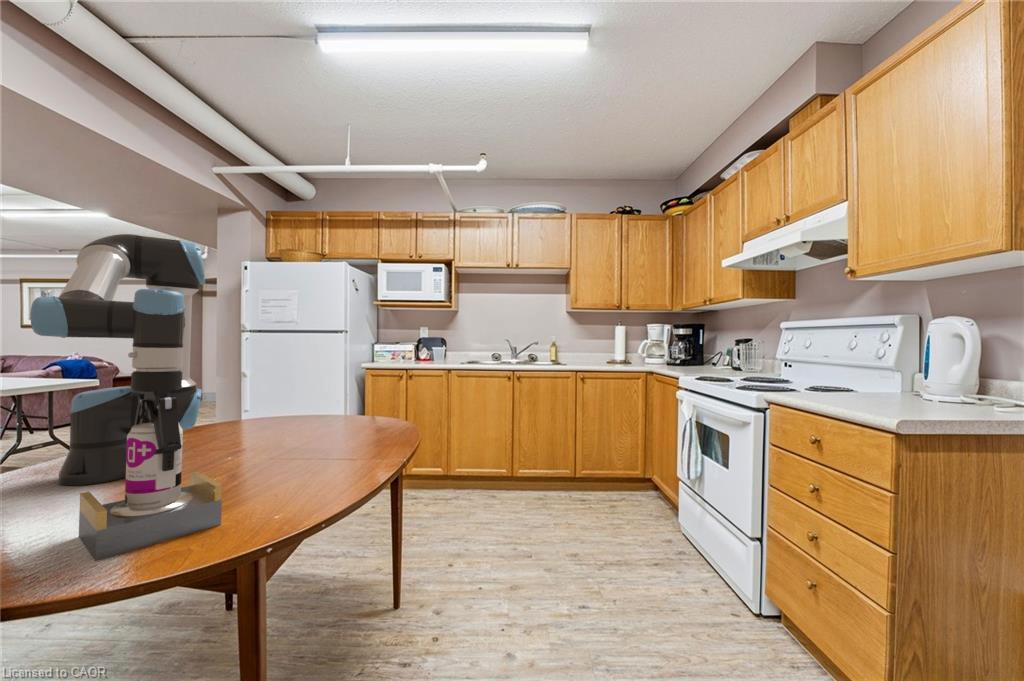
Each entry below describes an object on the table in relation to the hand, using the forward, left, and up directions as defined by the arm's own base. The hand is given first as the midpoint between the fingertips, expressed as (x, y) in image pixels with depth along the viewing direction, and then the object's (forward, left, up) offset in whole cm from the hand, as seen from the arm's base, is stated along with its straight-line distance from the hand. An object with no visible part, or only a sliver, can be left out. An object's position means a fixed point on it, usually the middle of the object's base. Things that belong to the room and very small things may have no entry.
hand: (154, 480), depth 80 cm
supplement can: (0, 0, -5) cm, 5 cm away
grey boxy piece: (0, 0, -10) cm, 10 cm away
